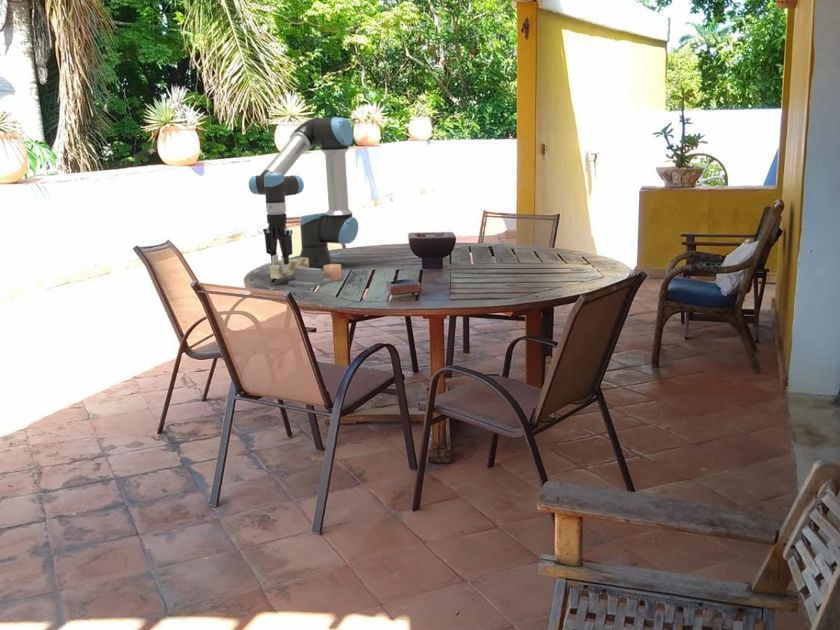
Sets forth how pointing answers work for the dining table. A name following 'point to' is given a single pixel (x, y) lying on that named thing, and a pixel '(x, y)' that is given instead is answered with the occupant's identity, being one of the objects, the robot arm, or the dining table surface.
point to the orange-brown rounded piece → (332, 272)
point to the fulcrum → (309, 277)
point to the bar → (292, 268)
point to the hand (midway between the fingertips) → (280, 271)
